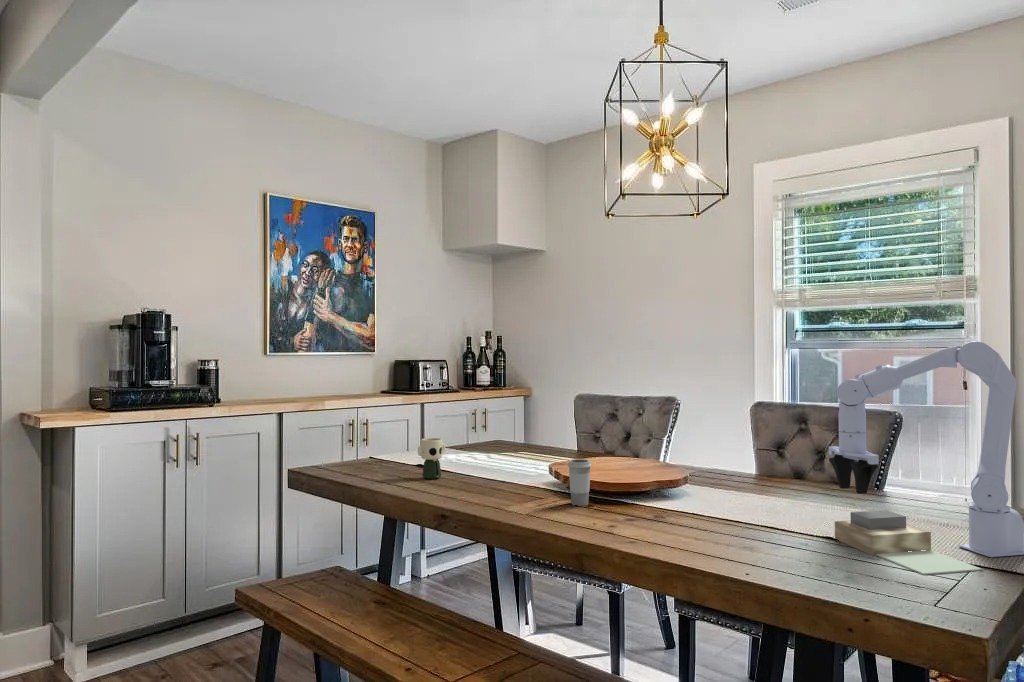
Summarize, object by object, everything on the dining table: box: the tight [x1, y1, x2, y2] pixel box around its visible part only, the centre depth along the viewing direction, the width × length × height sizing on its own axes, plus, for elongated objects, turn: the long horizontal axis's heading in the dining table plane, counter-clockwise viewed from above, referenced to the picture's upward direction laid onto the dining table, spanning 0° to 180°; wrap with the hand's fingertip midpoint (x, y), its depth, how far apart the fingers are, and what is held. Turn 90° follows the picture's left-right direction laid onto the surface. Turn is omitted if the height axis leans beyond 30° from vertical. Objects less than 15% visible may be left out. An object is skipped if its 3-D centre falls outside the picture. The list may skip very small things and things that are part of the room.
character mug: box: [417, 437, 446, 479], centre depth 230 cm, size 11×7×13 cm, turn 133°
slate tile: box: [850, 509, 907, 530], centre depth 152 cm, size 9×6×2 cm, turn 101°
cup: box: [566, 458, 593, 507], centre depth 191 cm, size 7×7×12 cm
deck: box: [834, 519, 932, 556], centre depth 151 cm, size 14×12×4 cm
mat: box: [875, 549, 983, 576], centre depth 138 cm, size 13×12×1 cm
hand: (853, 490), depth 159 cm, fingers open, 5 cm apart
